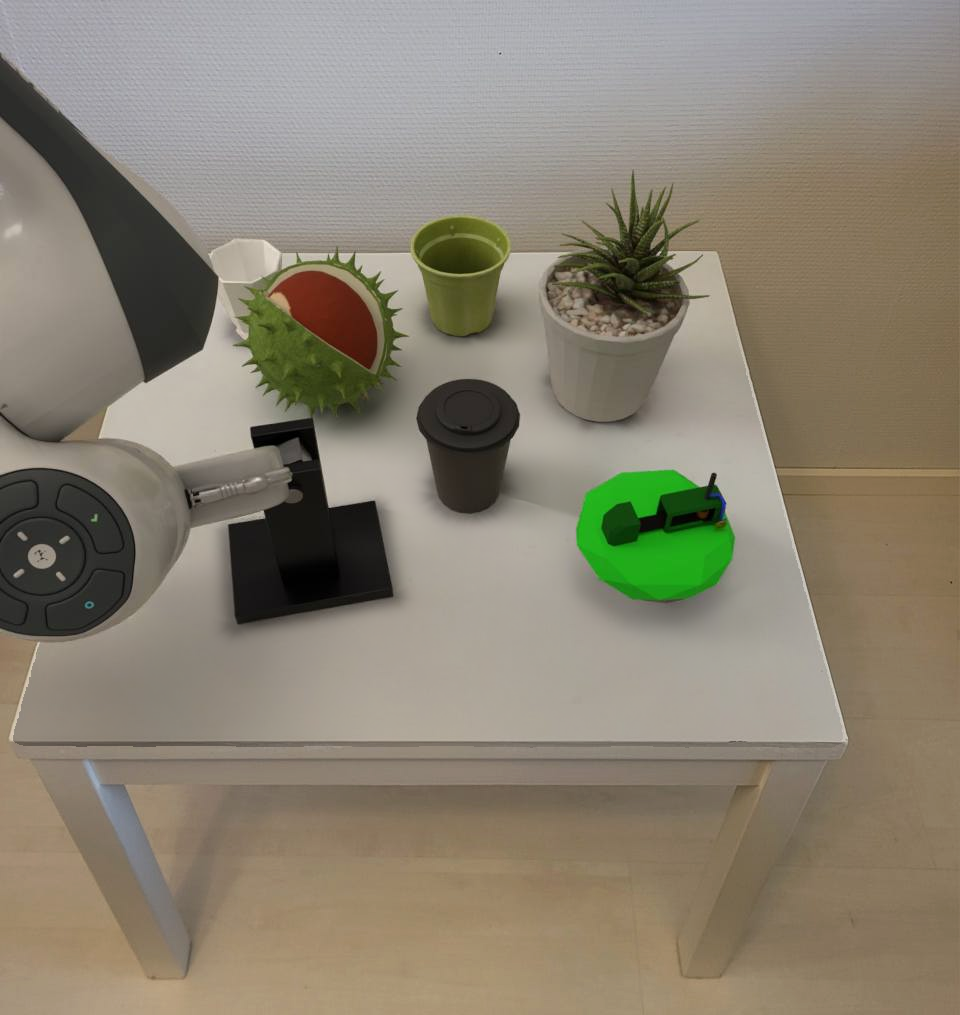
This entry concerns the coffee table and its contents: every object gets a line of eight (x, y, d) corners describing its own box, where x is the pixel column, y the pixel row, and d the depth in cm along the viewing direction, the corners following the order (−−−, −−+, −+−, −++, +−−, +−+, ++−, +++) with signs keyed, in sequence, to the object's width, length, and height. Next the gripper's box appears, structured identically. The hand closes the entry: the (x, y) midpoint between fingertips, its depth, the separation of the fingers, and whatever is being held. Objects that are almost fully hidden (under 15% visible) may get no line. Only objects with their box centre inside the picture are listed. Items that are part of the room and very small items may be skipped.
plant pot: (398, 334, 94) (393, 260, 87) (437, 278, 100) (435, 205, 93) (487, 359, 92) (488, 286, 85) (521, 301, 98) (525, 227, 91)
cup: (230, 359, 92) (212, 291, 85) (211, 295, 98) (193, 227, 91) (302, 342, 93) (290, 274, 87) (279, 281, 99) (266, 213, 93)
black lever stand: (237, 624, 73) (198, 511, 62) (230, 532, 79) (193, 414, 68) (393, 597, 75) (381, 482, 64) (376, 509, 80) (362, 389, 70)
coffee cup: (440, 538, 79) (436, 456, 71) (407, 468, 83) (401, 384, 75) (531, 510, 80) (537, 427, 73) (494, 443, 85) (497, 359, 77)
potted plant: (686, 443, 85) (735, 255, 70) (531, 437, 86) (546, 249, 70) (673, 347, 93) (715, 160, 78) (531, 343, 94) (544, 155, 78)
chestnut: (461, 295, 84) (375, 370, 73) (399, 403, 94) (316, 483, 83) (323, 191, 84) (217, 251, 73) (276, 310, 94) (176, 378, 83)
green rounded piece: (685, 499, 81) (711, 406, 73) (743, 612, 74) (780, 525, 66) (550, 526, 79) (560, 435, 71) (596, 646, 72) (614, 560, 64)
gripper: (280, 421, 55) (277, 422, 68) (-105, 505, 51) (-28, 488, 64) (306, 528, 55) (298, 508, 69) (-71, 619, 52) (-2, 579, 65)
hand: (138, 499), depth 67 cm, fingers closed
